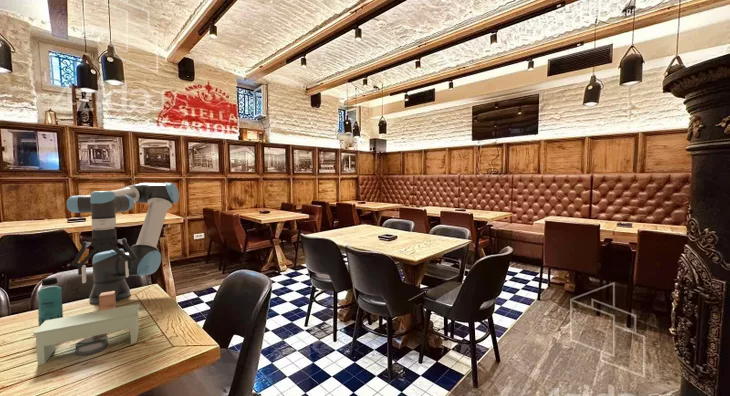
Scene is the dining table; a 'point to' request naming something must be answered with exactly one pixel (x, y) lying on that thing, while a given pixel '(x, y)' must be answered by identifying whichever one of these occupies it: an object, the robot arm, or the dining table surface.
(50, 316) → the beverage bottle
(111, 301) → the paddle
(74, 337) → the shelf
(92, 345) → the puck
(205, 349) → the dining table surface
